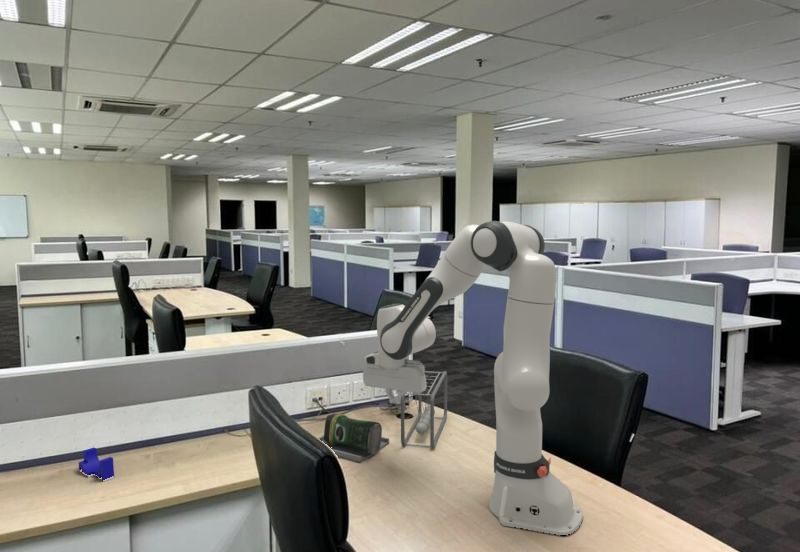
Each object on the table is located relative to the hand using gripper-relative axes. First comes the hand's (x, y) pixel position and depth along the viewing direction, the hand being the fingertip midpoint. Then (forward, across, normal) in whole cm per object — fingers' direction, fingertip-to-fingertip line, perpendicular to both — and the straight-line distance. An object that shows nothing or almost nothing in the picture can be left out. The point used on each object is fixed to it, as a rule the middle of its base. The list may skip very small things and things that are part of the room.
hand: (395, 403), depth 171 cm
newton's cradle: (+18, +3, -23) cm, 29 cm away
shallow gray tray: (+16, +18, 0) cm, 24 cm away
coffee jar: (+12, +6, +2) cm, 13 cm away
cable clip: (+15, +69, +52) cm, 88 cm away
